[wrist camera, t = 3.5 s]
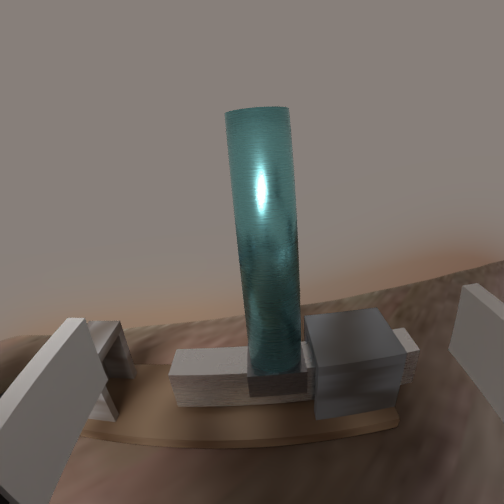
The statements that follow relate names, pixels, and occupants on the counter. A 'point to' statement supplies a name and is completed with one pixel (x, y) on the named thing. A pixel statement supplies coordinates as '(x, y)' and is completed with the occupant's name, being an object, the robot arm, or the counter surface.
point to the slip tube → (262, 280)
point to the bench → (265, 415)
